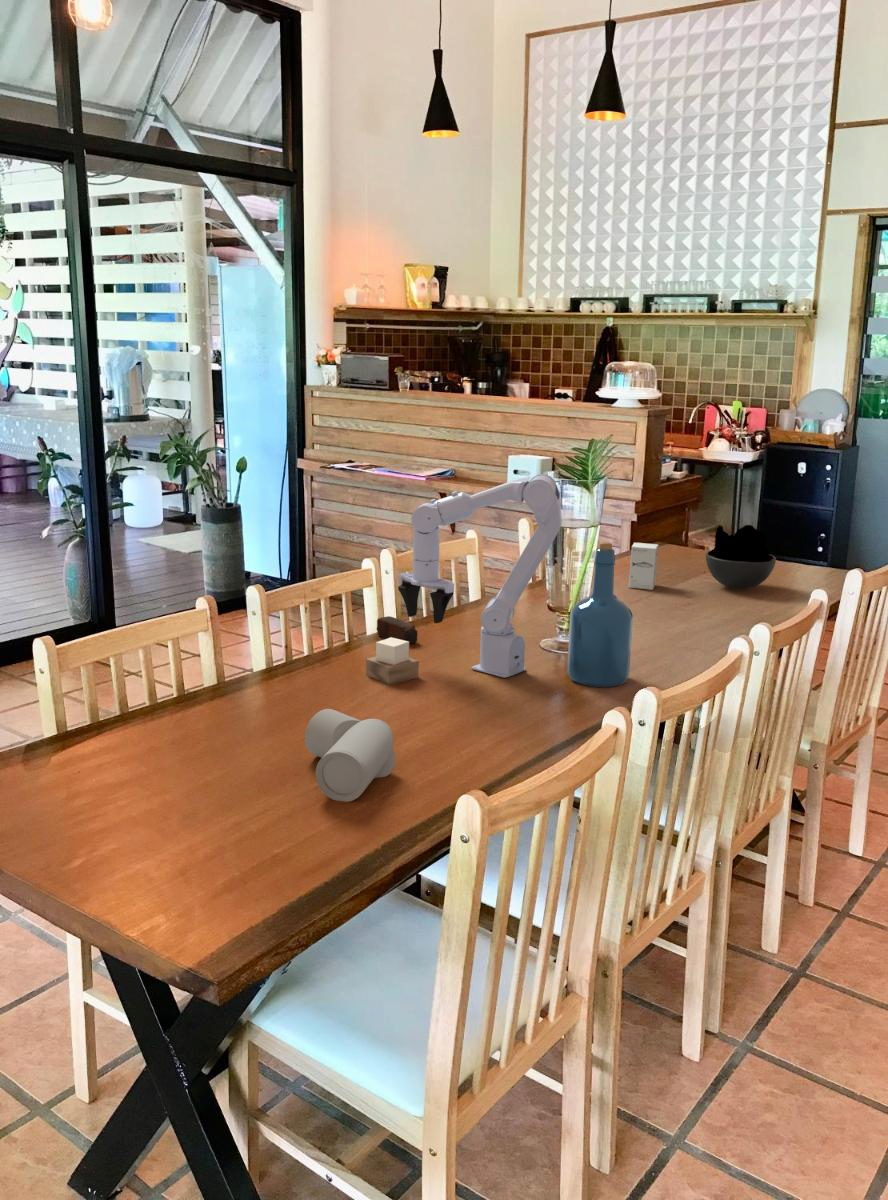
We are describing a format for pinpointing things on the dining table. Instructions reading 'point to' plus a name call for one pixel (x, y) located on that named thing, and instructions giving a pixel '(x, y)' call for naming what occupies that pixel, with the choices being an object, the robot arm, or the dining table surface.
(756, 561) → the coal bowl
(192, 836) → the dining table surface
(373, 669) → the base
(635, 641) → the dining table surface
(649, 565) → the supplement box
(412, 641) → the brick
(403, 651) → the block
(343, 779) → the grey cylindrical cross piece
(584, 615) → the wine bottle
